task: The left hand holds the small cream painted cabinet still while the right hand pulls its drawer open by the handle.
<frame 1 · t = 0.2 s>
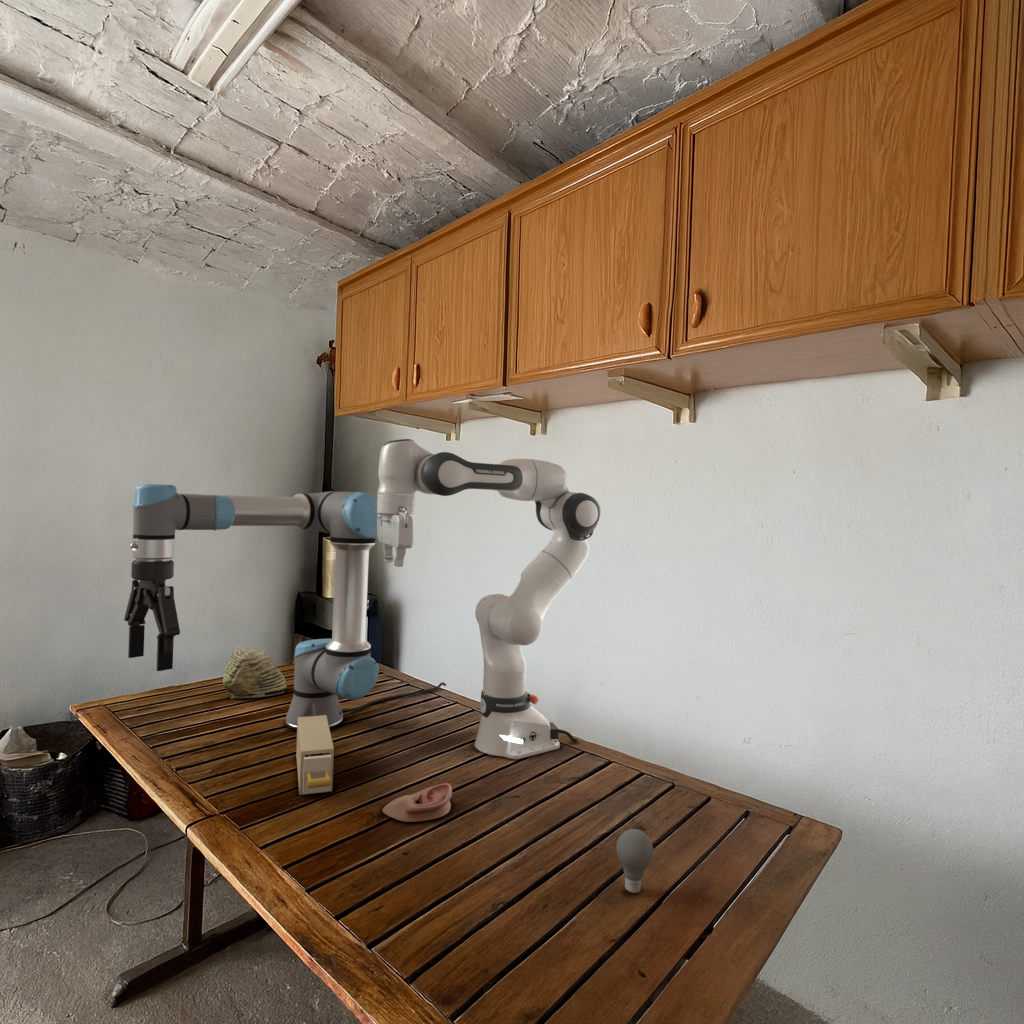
left hand: (149, 663, 129), 28 cm above the table, tool pointing down, fingers open, 13 cm apart
right hand: (393, 564, 152), 48 cm above the table, tool pointing down, fingers open, 8 cm apart
cabinet: (313, 772, 145), on the table
light bulb: (632, 891, 106), on the table
drawer: (315, 761, 140), point 5 cm above the table, slide at 0.8 cm
anatomical model: (417, 809, 130), on the table
fossil: (254, 694, 198), on the table
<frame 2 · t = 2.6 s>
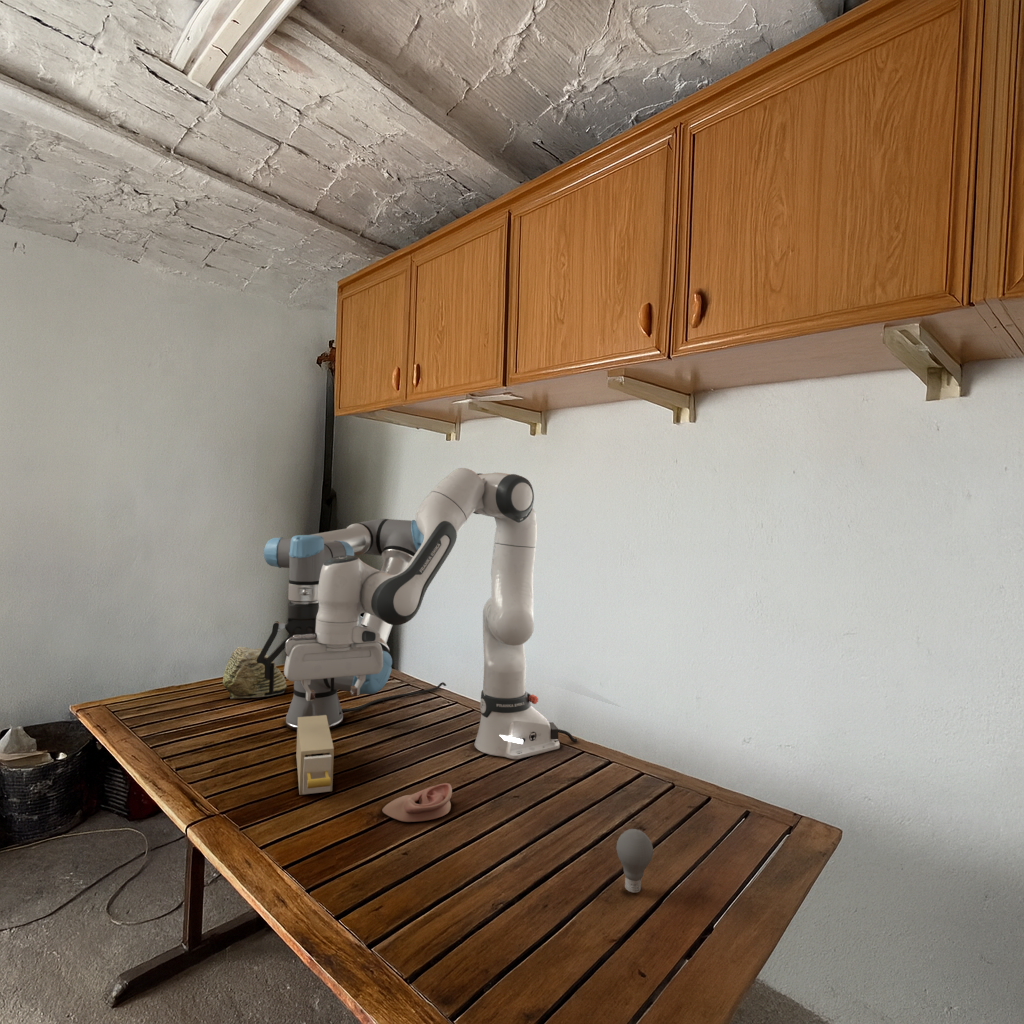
left hand: (302, 691, 149), 17 cm above the table, tool pointing down, fingers open, 13 cm apart
right hand: (332, 697, 134), 21 cm above the table, tool pointing down, fingers open, 8 cm apart
nothing on the table moved.
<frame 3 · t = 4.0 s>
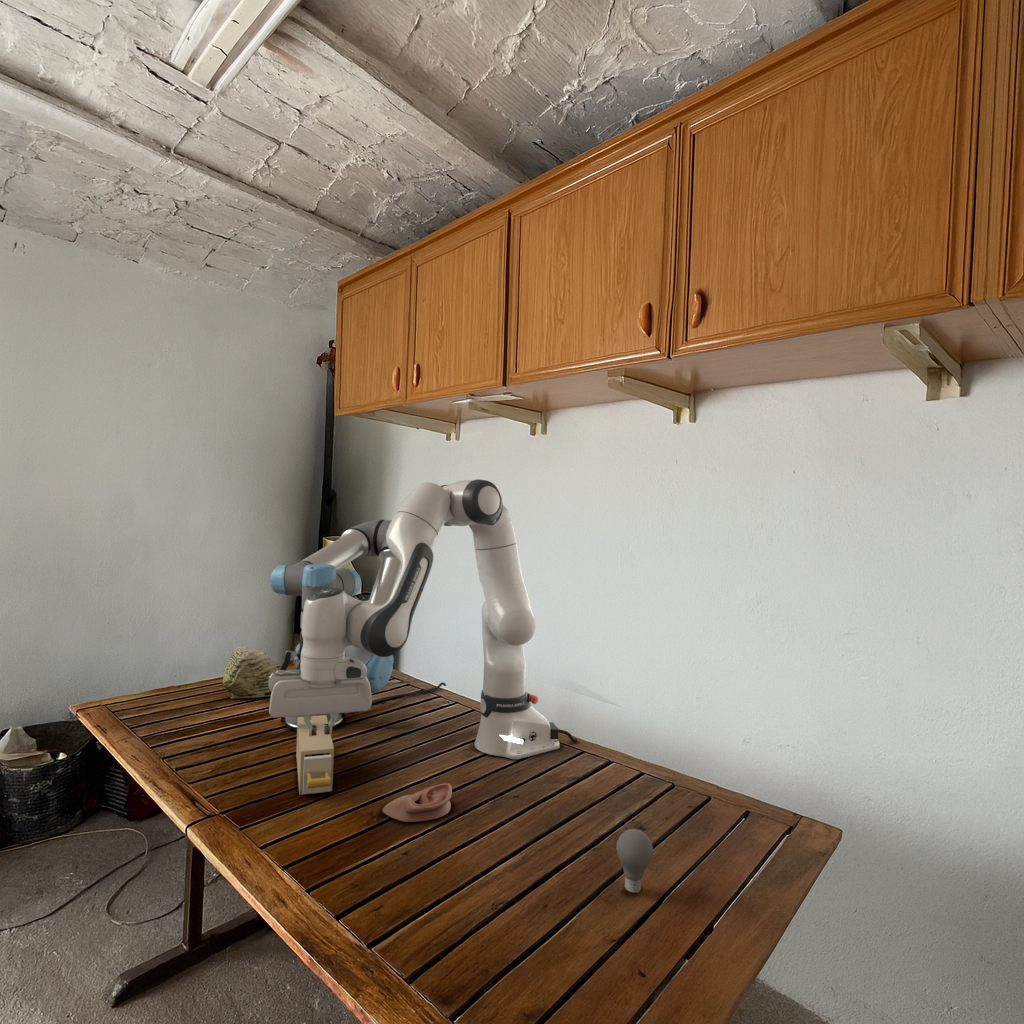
left hand: (313, 718, 151), 10 cm above the table, tool pointing down, fingers open, 13 cm apart
right hand: (320, 734, 131), 14 cm above the table, tool pointing down, fingers closed
nothing on the table moved.
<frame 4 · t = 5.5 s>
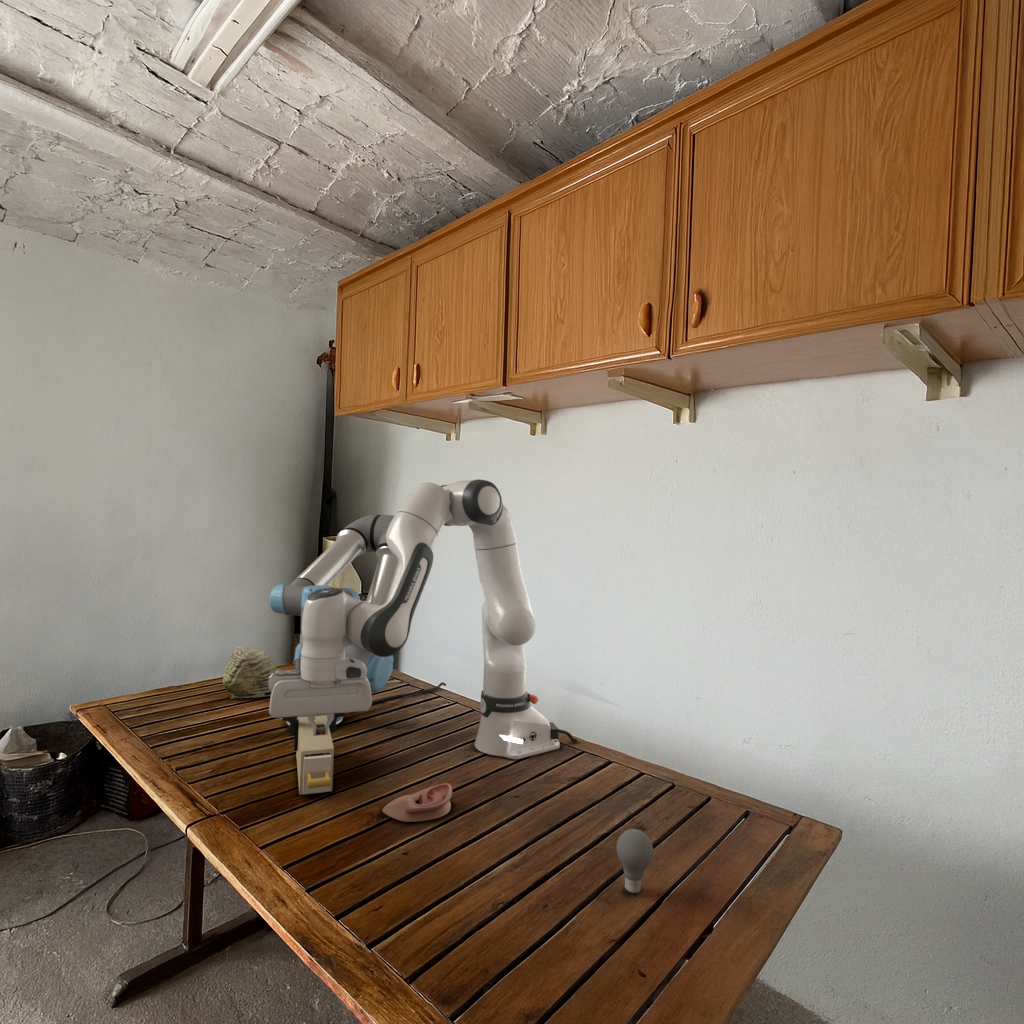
left hand: (312, 747, 151), 4 cm above the table, tool pointing down, fingers closed on cabinet, 7 cm apart
right hand: (320, 734, 131), 14 cm above the table, tool pointing down, fingers closed
cabinet: (313, 772, 145), on the table, touching left hand
everything else where it was.
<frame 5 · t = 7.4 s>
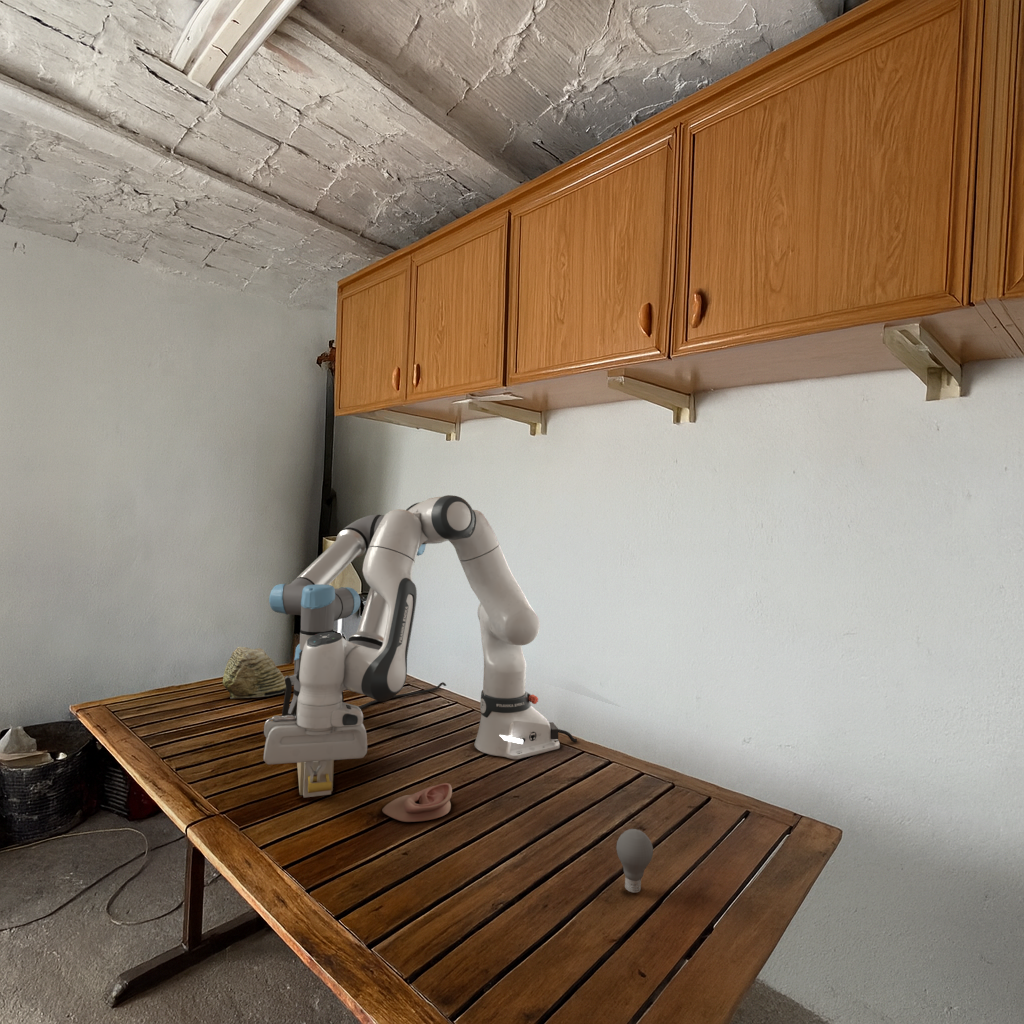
left hand: (312, 746, 151), 4 cm above the table, tool pointing down, fingers closed on cabinet, 7 cm apart
right hand: (314, 781, 130), 5 cm above the table, tool pointing down, fingers closed, pressing on drawer
cabinet: (313, 770, 145), on the table, touching left hand
drawer: (315, 763, 139), point 5 cm above the table, slide at 1.8 cm, touching right hand
everything else where it was.
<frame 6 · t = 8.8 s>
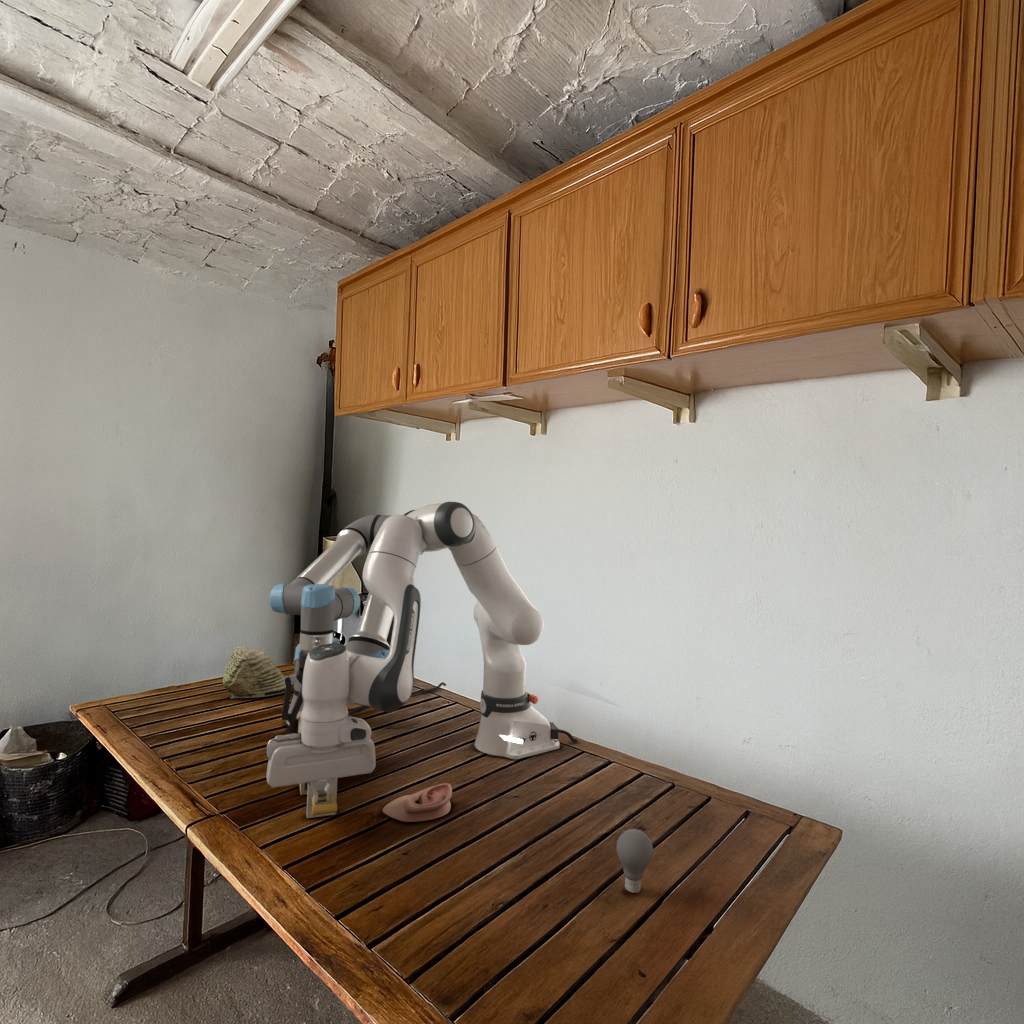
left hand: (311, 746, 150), 4 cm above the table, tool pointing down, fingers closed on cabinet, 7 cm apart
right hand: (321, 801, 123), 5 cm above the table, tool pointing down, fingers closed
cabinet: (313, 768, 145), point 1 cm above the table, touching left hand
drawer: (319, 779, 132), point 4 cm above the table, slide at 9.2 cm, touching right hand
everything else where it was.
when the left hand's fingers open (4 cm above the table, at t = 10.1 s): cabinet stays where it is, on the table.
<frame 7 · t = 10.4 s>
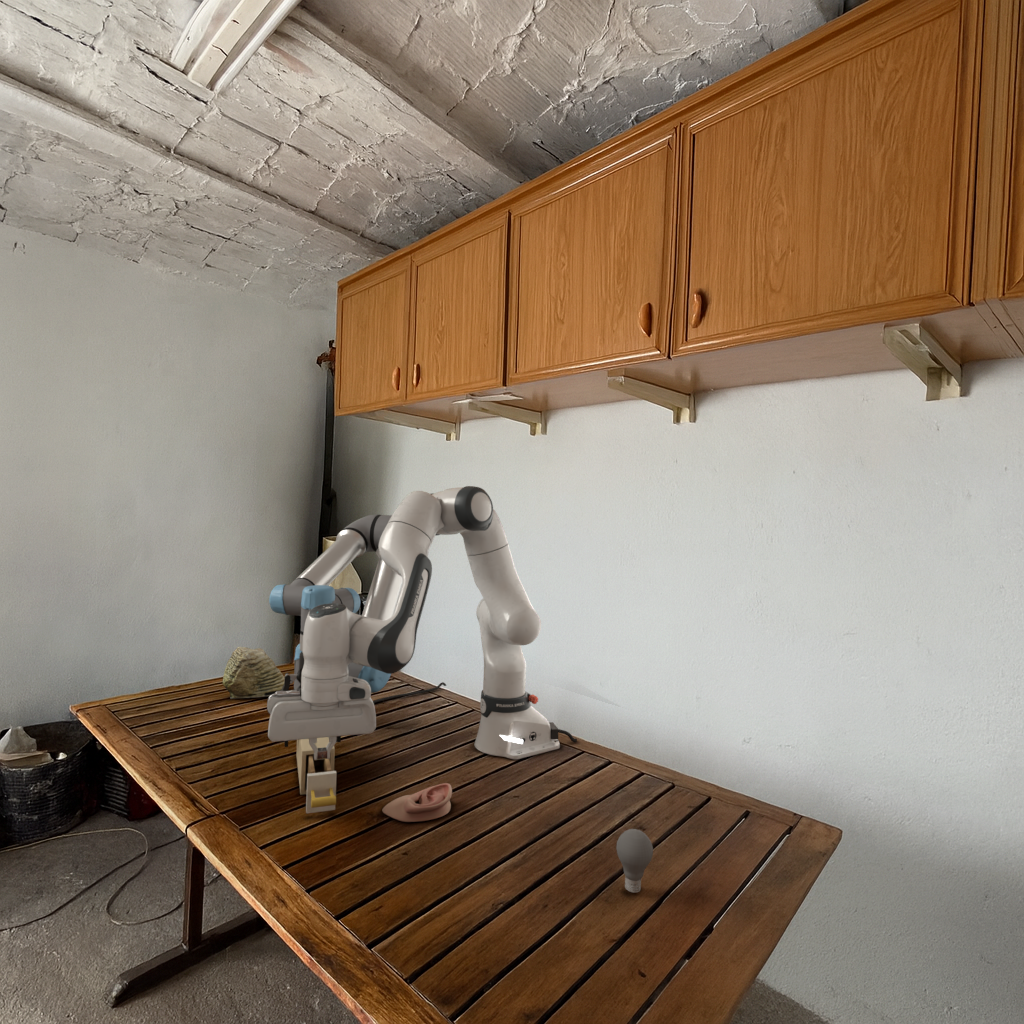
left hand: (312, 742, 151), 5 cm above the table, tool pointing down, fingers open, 11 cm apart
right hand: (321, 758, 124), 12 cm above the table, tool pointing down, fingers closed
cabinet: (313, 771, 145), on the table
drawer: (318, 777, 132), point 5 cm above the table, slide at 9.2 cm
everything else where it was.
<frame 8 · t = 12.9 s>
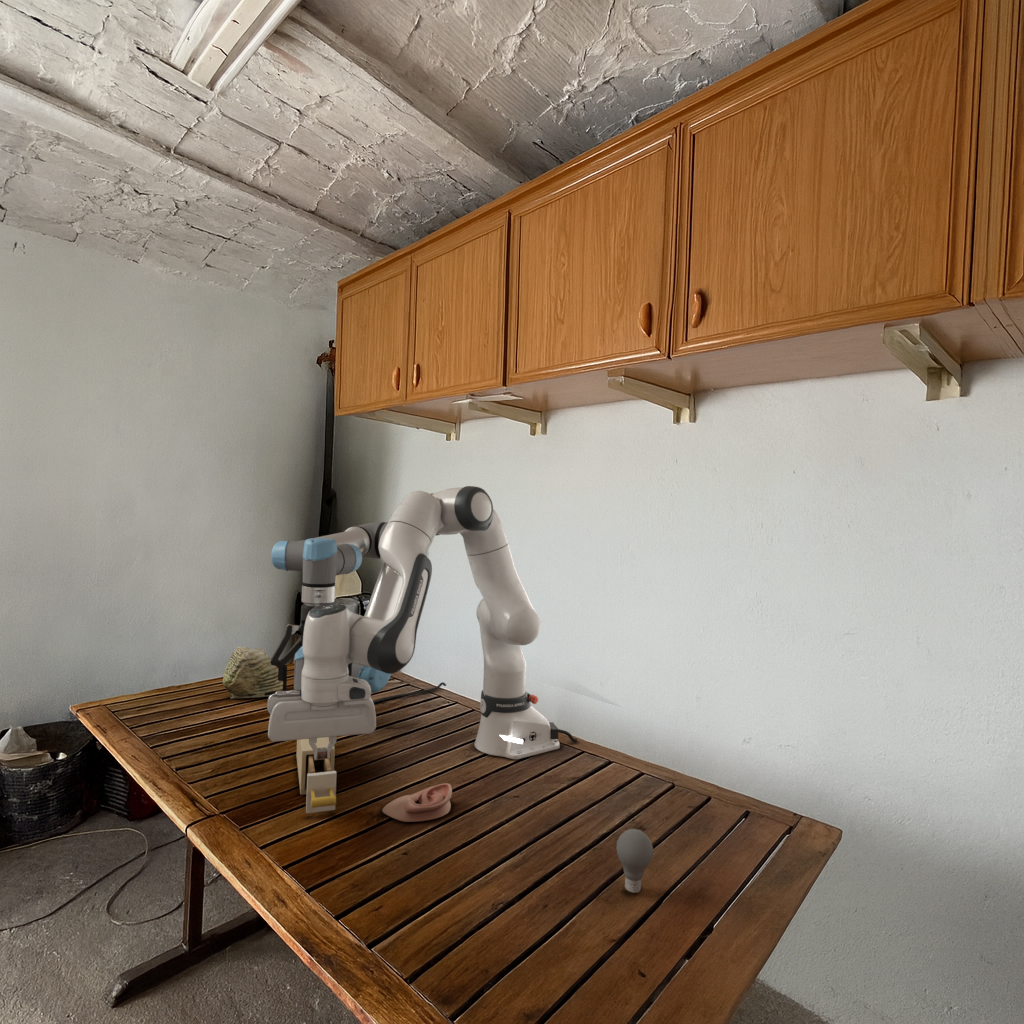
left hand: (314, 692, 151), 17 cm above the table, tool pointing down, fingers open, 13 cm apart
right hand: (321, 758, 124), 12 cm above the table, tool pointing down, fingers closed
nothing on the table moved.
at the end: drawer slide at 9.2 cm; cabinet tilted 0°; cabinet never tilted more than 5° during the clip; cabinet moved 0.1 cm from its start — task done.
